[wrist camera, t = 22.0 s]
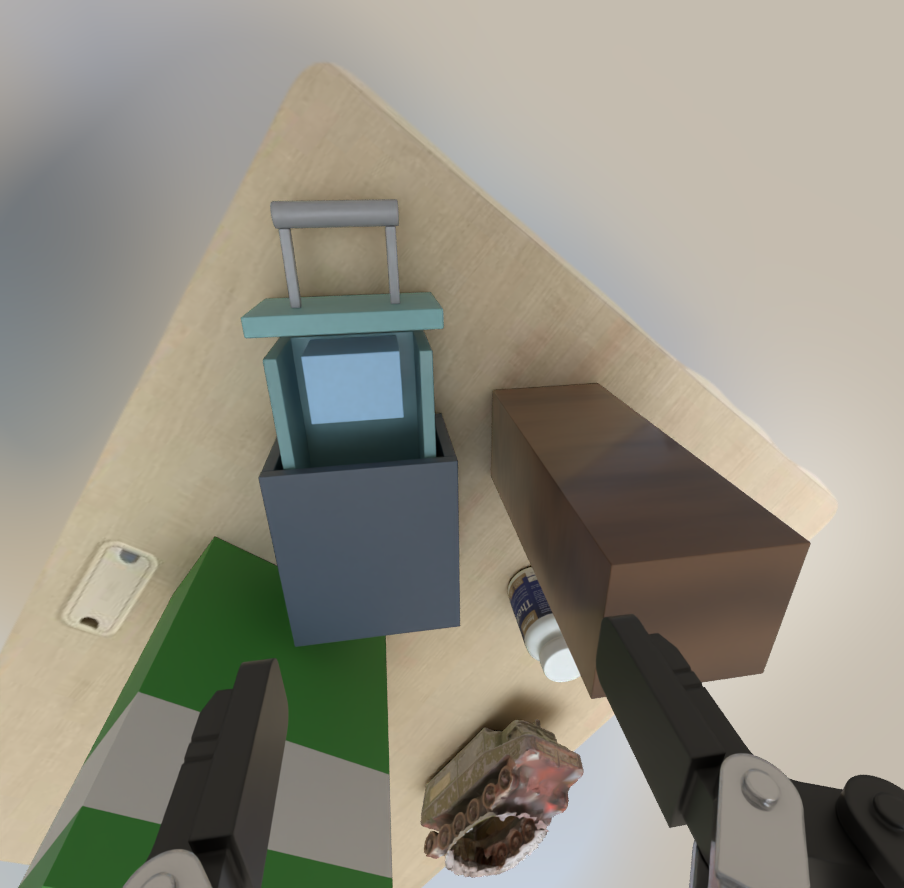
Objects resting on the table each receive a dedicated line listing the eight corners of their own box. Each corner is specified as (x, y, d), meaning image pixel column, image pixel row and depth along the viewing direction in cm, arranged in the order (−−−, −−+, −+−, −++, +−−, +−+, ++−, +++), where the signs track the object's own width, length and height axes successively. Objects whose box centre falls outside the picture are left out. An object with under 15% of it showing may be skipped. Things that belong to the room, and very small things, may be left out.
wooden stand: (492, 389, 39) (611, 565, 20) (598, 382, 40) (811, 542, 21) (490, 476, 43) (591, 699, 23) (588, 467, 44) (763, 673, 24)
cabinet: (281, 424, 38) (258, 477, 30) (441, 413, 40) (457, 460, 32) (308, 571, 44) (294, 647, 37) (445, 557, 46) (460, 626, 38)
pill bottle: (508, 566, 47) (538, 645, 39) (561, 562, 48) (602, 638, 39) (504, 608, 50) (532, 692, 41) (554, 603, 50) (592, 685, 42)
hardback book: (385, 617, 48) (394, 946, 26) (342, 664, 50) (318, 1007, 28) (214, 536, 41) (42, 885, 20) (173, 594, 43) (-26, 971, 22)
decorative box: (383, 771, 58) (385, 869, 49) (500, 670, 53) (525, 758, 45) (463, 802, 63) (477, 896, 54) (575, 713, 59) (610, 799, 50)
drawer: (247, 203, 31) (216, 200, 25) (427, 200, 32) (440, 197, 26) (295, 472, 39) (281, 520, 33) (436, 460, 40) (448, 504, 34)
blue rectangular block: (318, 400, 36) (311, 424, 32) (309, 339, 34) (300, 356, 30) (400, 395, 36) (404, 417, 32) (396, 334, 34) (399, 351, 30)
